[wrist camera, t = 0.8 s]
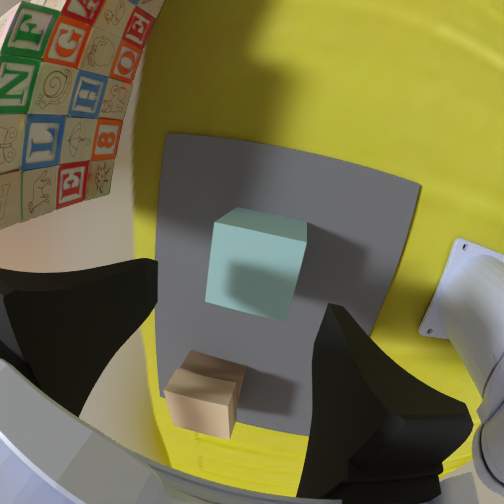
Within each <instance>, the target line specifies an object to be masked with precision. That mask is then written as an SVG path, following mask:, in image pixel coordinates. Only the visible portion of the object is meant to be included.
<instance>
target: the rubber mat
mask: <svg viewBox="0 0 504 504" xmlns="http://www.w3.org/2000/svg"><path fill="white" fill-rule="evenodd" d="M419 188H420V184H418V183H415V182H412V181H410V180H407V179H404V178H401V177H398V176H395V175H391V174H388V173H385V172H382V171H379V170H375V169H372V168H368V167H365V166H361V165H358V164H354V163H350V162H347V161H343V160H339V159H335V158H331V157H327V156H322V155H318V154H314V153H309V152H304V151H300V150H295V149H290V148H284V147H279V146H273V145H268V144H262V143H256V142H249V141H242V140H235V139H227V138H219V137H210V136H200V135H189V134H176V133H166V139H165V146H164V153H163V161H162V169H161V178H160V188H159V199H158V211H157V226H156V245H155V260H156V261H158V302H157V304H156V305H155V335H156V353H157V368H158V379H159V390H160V397H163V398H165V399H166V397H165V394H164V388H165V387H166V385H167V383H168V382H169V380H170V379H171V377H172V375H173V374H174V372H175V371H176V370H180V367H181V365H182V364H183V362H184V360H185V359H186V357H187V355H188V354H189V352H190V351H191V350H194V351H197V352H200V353H204V354H207V355H210V356H213V357H217V358H220V359H224V360H227V361H231V362H234V363H238V364H242V365H246V366H247V369H246V373H245V377H244V382H243V386H242V390H241V394H240V398H239V402H238V405H237V419H236V422H239V423H243V424H247V425H252V426H256V427H260V428H265V429H270V430H275V431H280V432H285V433H291V434H297V435H304V436H309V434H310V427H311V420H312V355H313V346H314V341H315V339H316V336H317V333H318V331H319V328H320V325H321V322H322V320H323V317H324V314H325V311H326V308H327V305H328V303H331V304H336V305H341V306H343V307H344V308H345V309H346V310H347V311H348V312H349V313H350V314H351V316H352V317H353V318H354V319H355V321H356V322H357V323H358V324H359V325H360V327H361V328H362V329H363V330H364V331H365V333H366V334H367V335H368V336H369V334H370V332H371V330H372V327H373V325H374V323H375V321H376V318H377V316H378V314H379V312H380V309H381V307H382V304H383V302H384V299H385V297H386V294H387V292H388V289H389V287H390V284H391V281H392V279H393V276H394V273H395V271H396V268H397V265H398V262H399V259H400V256H401V253H402V250H403V247H404V244H405V240H406V237H407V234H408V230H409V227H410V223H411V220H412V216H413V212H414V209H415V205H416V201H417V196H418V192H419ZM236 207H240V208H245V209H250V210H255V211H259V212H264V213H269V214H273V215H278V216H283V217H287V218H292V219H296V220H301V221H305V222H307V244H306V248H305V252H304V256H303V260H302V264H301V268H300V272H299V276H298V279H297V283H296V287H295V291H294V294H293V298H292V302H291V305H290V309H289V313H288V316H287V320H286V322H283V321H279V320H275V319H270V318H266V317H262V316H258V315H254V314H250V313H246V312H242V311H238V310H234V309H231V308H227V307H223V306H219V305H216V304H212V303H209V302H205V298H206V288H207V279H208V270H209V261H210V253H211V245H212V237H213V229H214V222H215V221H217V220H218V219H220V218H221V217H223V216H224V215H226V214H227V213H229V212H230V211H232V210H233V209H235V208H236Z"/></svg>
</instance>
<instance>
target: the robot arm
mask: <svg viewBox="0 0 504 504" xmlns="http://www.w3.org/2000/svg"><path fill="white" fill-rule="evenodd" d="M464 244H465V248H464V249H463V246H464ZM157 302H158V261H156V260H152V259H148V258H140V259H134V260H129V261H125V262H120V263H115V264H111V265H107V266H101V267H96V268H92V269H86V270H80V271H71V272H60V273H31V272H20V271H13V270H6V269H1V268H0V504H479V500H478V495H477V490H476V486H475V482H474V477H473V473H471V472H469V473H466V474H462V475H459V476H455V477H451V478H448V479H446V480H443V481H441V482H439V477H438V475H439V474H441V473H442V472H443V465H442V462H443V461H444V460H445V459H446V458H448V457H449V456H450V455H451V454H452V453H453V452H454V451H455V450H457V449H458V448H459V447H460V446H461V445H462V444H463V443H464V442H465V441H466V439H467V438H468V436H469V435H470V433H471V431H472V429H473V425H474V424H473V422H472V419H471V416H470V414H469V411H468V409H467V406H466V404H465V403H463V402H461V401H459V400H456V399H454V398H452V397H449V396H447V395H445V394H443V393H441V392H439V391H437V390H435V389H433V388H431V387H430V386H428V385H426V384H425V383H423V382H421V381H420V380H418V379H417V378H415V377H414V376H412V375H411V374H410V373H408V372H407V371H405V370H404V369H403V368H401V367H400V366H399V365H398V364H397V363H395V362H394V361H393V360H392V359H391V358H390V357H389V356H387V355H386V354H385V353H384V352H383V351H382V350H381V349H380V348H379V347H378V346H377V345H376V344H375V343H374V342H373V341H372V339H371V338H370V337H369V336H368V335H367V334H366V333H365V331H364V330H363V329H362V328H361V327H360V325H359V324H358V323H357V322H356V321H355V319H354V318H353V317H352V316H351V314H350V313H349V312H348V311H347V310H346V309H345V308H344V307H343V306H341V305H336V304H331V303H328V305H327V308H326V311H325V314H324V317H323V320H322V322H321V325H320V328H319V331H318V333H317V336H316V339H315V341H314V346H313V355H312V420H311V427H310V434H309V441H308V447H307V452H306V458H305V462H304V467H303V471H302V476H301V480H300V484H299V488H298V491H297V495H296V497H287V496H279V495H272V494H266V493H260V492H255V491H250V490H245V489H240V488H236V487H231V486H227V485H223V484H220V483H216V482H212V481H209V480H206V479H202V478H199V477H196V476H193V475H190V474H187V473H184V472H181V471H178V470H176V469H173V468H170V467H167V466H165V465H163V464H160V463H158V462H155V461H153V460H151V459H148V458H146V457H144V456H142V455H140V454H138V453H136V452H133V451H131V450H129V449H127V448H125V447H124V446H122V445H120V444H119V443H117V442H116V441H114V440H112V439H111V438H109V437H108V436H106V435H105V434H103V433H102V432H100V431H99V430H97V429H96V428H94V427H92V426H90V425H89V424H87V423H86V422H84V421H83V420H81V419H80V418H79V415H80V413H81V411H82V408H83V406H84V404H85V402H86V400H87V398H88V396H89V394H90V392H91V390H92V388H93V387H94V385H95V383H96V382H97V380H98V378H99V377H100V375H101V373H102V372H103V370H104V369H105V367H106V366H107V364H108V363H109V361H110V360H111V359H112V357H113V356H114V354H115V353H116V352H117V351H118V350H119V348H120V347H121V346H122V345H123V344H124V343H125V342H126V341H127V339H129V337H130V336H131V335H132V334H133V333H134V332H135V331H136V330H137V329H138V328H139V327H140V325H141V324H142V323H143V322H144V321H145V320H146V319H147V317H148V316H149V315H150V313H151V312H152V310H153V309H154V307H155V305H156V304H157ZM429 329H431V330H430V331H428V330H429ZM418 331H419V333H420V335H422V336H428V337H435V338H442V339H449V340H450V341H451V343H452V345H453V346H454V348H455V350H456V351H457V353H458V355H459V356H460V358H461V360H462V362H463V363H464V365H465V367H466V369H467V370H468V372H469V374H470V376H471V378H472V380H473V382H474V383H475V385H476V387H477V389H478V391H479V393H480V395H481V397H482V399H483V401H482V403H481V405H480V406H479V408H478V409H477V413H478V416H479V418H480V420H481V424H480V425H479V427H478V428H477V430H476V432H475V434H474V437H473V442H472V457H473V462H474V467H475V470H476V473H477V475H478V477H479V478H480V480H481V481H482V482H483V484H484V485H485V486H487V487H488V488H489V489H490V490H492V491H494V492H496V493H498V494H500V495H502V496H504V255H503V254H501V253H499V252H496V251H494V250H491V249H489V248H486V247H484V246H481V245H479V244H476V243H473V242H471V241H468V240H465V239H462V238H457V239H456V240H455V241H454V243H453V246H452V249H451V252H450V255H449V258H448V261H447V264H446V266H445V269H444V272H443V274H442V277H441V279H440V282H439V284H438V287H437V289H436V292H435V294H434V296H433V299H432V301H431V303H430V305H429V308H428V310H427V312H426V314H425V316H424V318H423V320H422V322H421V324H420V326H419V329H418Z"/></svg>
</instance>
